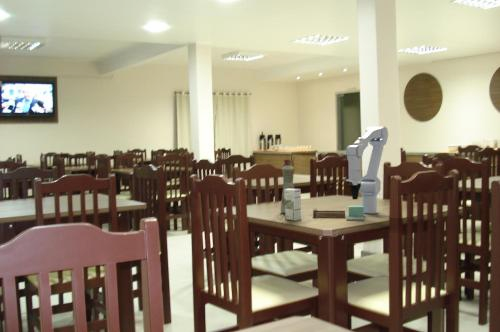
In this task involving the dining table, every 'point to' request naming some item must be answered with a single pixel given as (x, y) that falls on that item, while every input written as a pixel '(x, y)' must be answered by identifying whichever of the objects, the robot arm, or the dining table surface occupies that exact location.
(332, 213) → the trough
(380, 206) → the dining table surface
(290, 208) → the syrup box
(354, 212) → the block
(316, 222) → the dining table surface
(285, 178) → the bottle
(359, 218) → the mat
